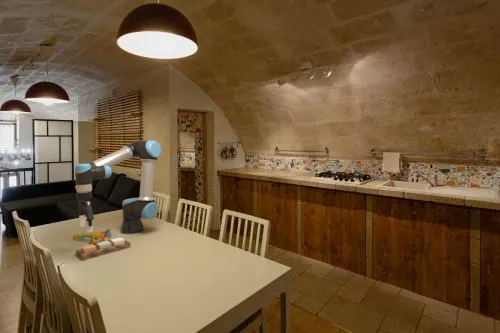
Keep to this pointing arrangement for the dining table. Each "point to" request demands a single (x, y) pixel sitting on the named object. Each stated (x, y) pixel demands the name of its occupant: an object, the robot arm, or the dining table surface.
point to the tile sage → (103, 244)
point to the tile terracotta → (88, 248)
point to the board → (102, 251)
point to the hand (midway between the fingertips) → (86, 229)
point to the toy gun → (95, 236)
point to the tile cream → (117, 241)
